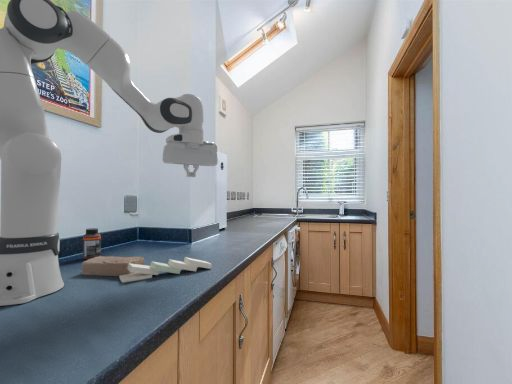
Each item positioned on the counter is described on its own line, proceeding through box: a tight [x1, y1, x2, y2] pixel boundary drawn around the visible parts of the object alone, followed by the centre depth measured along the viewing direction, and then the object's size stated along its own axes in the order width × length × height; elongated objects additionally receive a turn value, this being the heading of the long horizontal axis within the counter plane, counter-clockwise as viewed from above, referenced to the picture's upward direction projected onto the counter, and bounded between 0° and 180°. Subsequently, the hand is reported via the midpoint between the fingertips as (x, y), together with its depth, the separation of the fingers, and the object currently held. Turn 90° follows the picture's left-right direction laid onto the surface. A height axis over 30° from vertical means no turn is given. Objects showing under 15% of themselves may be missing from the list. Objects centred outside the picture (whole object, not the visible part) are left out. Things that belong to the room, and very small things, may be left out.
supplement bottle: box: [82, 227, 102, 260], centre depth 105 cm, size 6×6×11 cm
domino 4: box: [183, 256, 213, 270], centre depth 90 cm, size 2×5×8 cm
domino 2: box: [118, 273, 153, 284], centre depth 80 cm, size 2×5×8 cm
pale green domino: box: [149, 261, 182, 275], centre depth 84 cm, size 2×5×8 cm
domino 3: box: [167, 258, 198, 272], centre depth 87 cm, size 2×5×8 cm
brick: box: [81, 255, 145, 277], centre depth 86 cm, size 17×8×5 cm, turn 83°
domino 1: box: [127, 263, 160, 276], centre depth 81 cm, size 2×5×8 cm
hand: (191, 177), depth 101 cm, fingers closed
